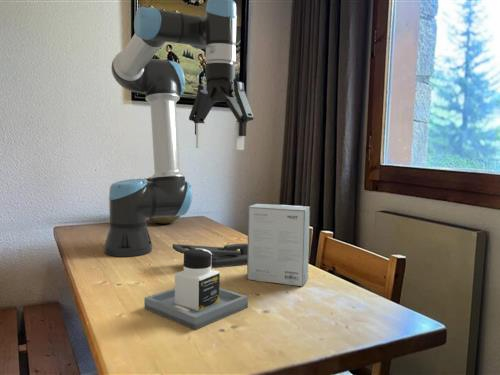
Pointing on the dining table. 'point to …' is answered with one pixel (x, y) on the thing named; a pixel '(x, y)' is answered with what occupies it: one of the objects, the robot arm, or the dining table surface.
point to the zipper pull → (221, 254)
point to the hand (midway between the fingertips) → (219, 149)
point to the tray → (191, 318)
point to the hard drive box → (278, 243)
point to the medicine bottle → (197, 281)
